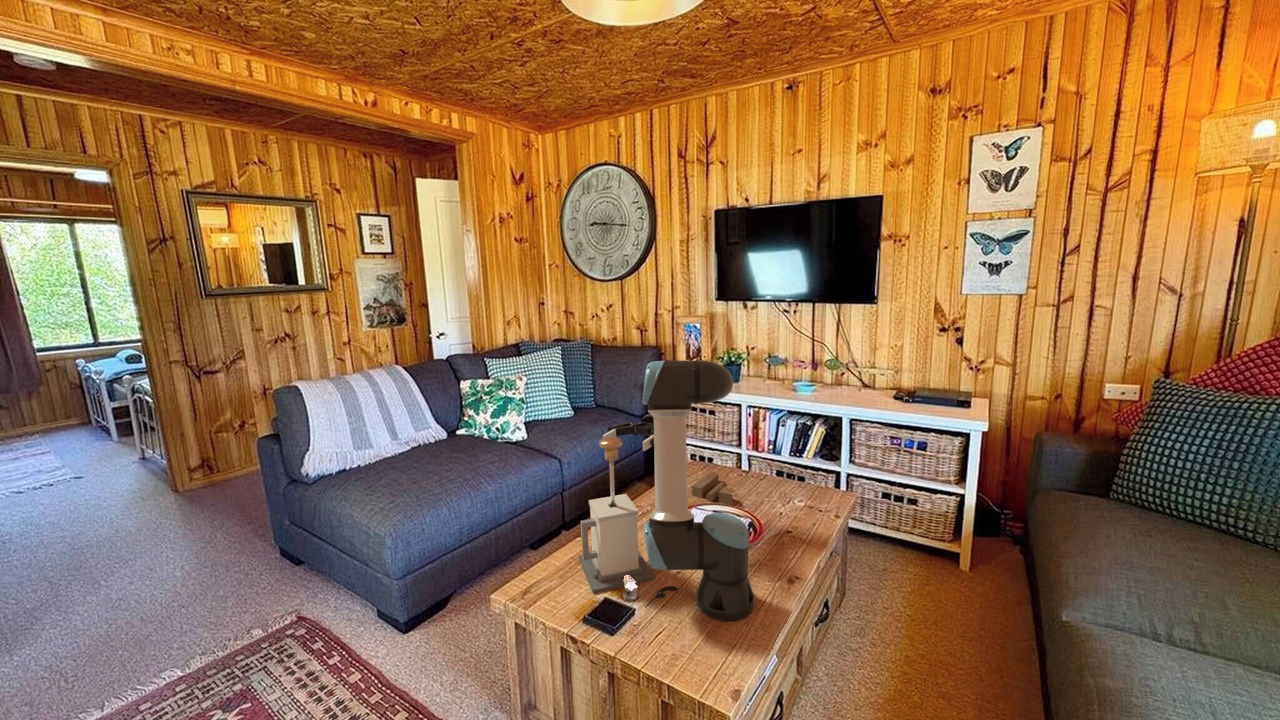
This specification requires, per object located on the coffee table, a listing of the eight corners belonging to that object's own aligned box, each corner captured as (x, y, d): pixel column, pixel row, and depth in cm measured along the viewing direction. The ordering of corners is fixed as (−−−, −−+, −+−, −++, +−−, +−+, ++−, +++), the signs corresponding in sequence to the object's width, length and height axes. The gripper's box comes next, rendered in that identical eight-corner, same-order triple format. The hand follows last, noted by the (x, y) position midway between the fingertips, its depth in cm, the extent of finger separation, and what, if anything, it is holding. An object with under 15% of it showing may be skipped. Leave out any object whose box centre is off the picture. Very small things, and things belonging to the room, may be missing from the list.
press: (641, 572, 147) (640, 511, 144) (588, 584, 142) (585, 521, 139) (628, 550, 159) (626, 492, 155) (579, 560, 154) (576, 501, 150)
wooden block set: (690, 484, 196) (711, 468, 211) (690, 497, 197) (711, 481, 212) (731, 493, 187) (750, 476, 201) (731, 508, 188) (749, 489, 202)
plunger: (627, 518, 146) (624, 443, 142) (605, 522, 144) (602, 446, 140) (620, 508, 152) (618, 436, 148) (599, 512, 150) (596, 438, 146)
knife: (665, 584, 144) (665, 582, 144) (678, 589, 142) (678, 587, 141) (638, 614, 132) (638, 612, 132) (651, 620, 130) (651, 617, 130)
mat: (654, 579, 146) (654, 576, 146) (592, 593, 140) (592, 590, 140) (634, 547, 163) (634, 544, 162) (578, 558, 157) (578, 555, 157)
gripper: (690, 438, 164) (661, 461, 146) (623, 428, 176) (588, 448, 158) (690, 416, 163) (661, 436, 145) (622, 407, 175) (587, 425, 156)
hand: (623, 443), depth 151 cm, fingers open, 13 cm apart
